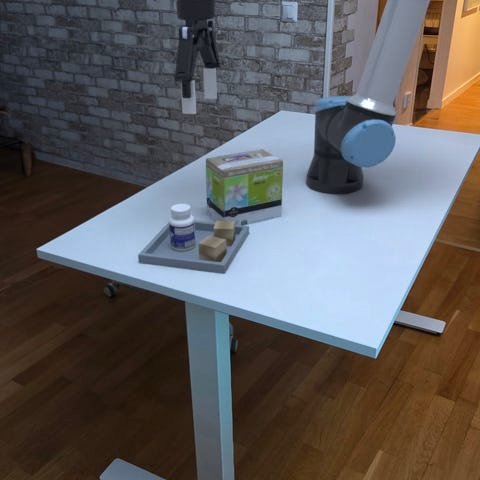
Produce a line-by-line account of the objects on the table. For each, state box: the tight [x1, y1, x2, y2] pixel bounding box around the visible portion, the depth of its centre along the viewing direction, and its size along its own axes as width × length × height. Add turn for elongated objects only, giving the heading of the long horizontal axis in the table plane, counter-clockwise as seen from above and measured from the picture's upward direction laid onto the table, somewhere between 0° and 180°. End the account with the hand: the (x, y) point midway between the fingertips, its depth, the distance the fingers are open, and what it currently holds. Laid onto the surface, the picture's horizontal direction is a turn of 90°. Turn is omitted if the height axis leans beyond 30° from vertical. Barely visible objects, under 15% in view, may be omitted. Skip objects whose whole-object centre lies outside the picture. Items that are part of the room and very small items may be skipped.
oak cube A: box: [214, 220, 235, 246], centre depth 120 cm, size 4×4×4 cm
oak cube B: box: [198, 235, 227, 262], centre depth 113 cm, size 4×4×4 cm
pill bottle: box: [168, 203, 196, 251], centre depth 117 cm, size 5×5×9 cm
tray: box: [137, 219, 250, 275], centre depth 118 cm, size 18×18×2 cm
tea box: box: [205, 148, 284, 226], centre depth 130 cm, size 15×10×15 cm, turn 117°
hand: (200, 105), depth 120 cm, fingers open, 13 cm apart
